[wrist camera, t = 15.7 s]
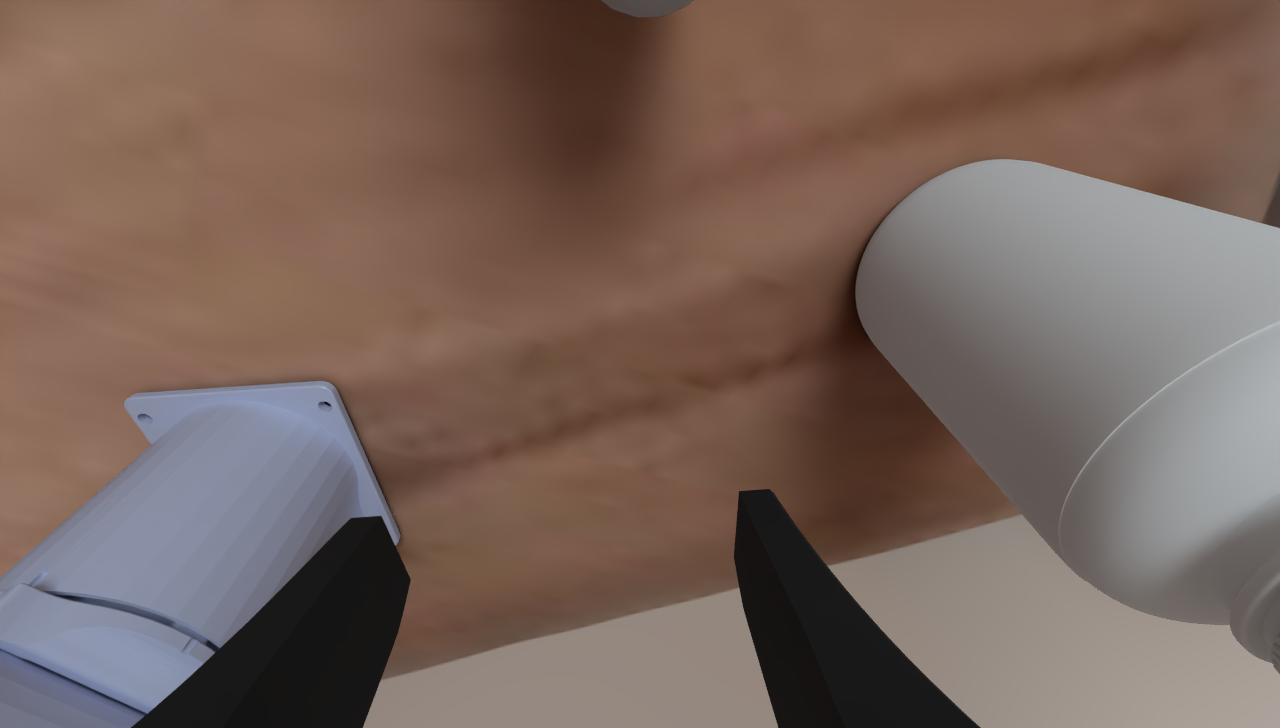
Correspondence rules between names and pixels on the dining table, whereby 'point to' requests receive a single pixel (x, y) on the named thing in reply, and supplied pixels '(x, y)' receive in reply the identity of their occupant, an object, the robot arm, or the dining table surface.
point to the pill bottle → (1101, 375)
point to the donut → (646, 7)
